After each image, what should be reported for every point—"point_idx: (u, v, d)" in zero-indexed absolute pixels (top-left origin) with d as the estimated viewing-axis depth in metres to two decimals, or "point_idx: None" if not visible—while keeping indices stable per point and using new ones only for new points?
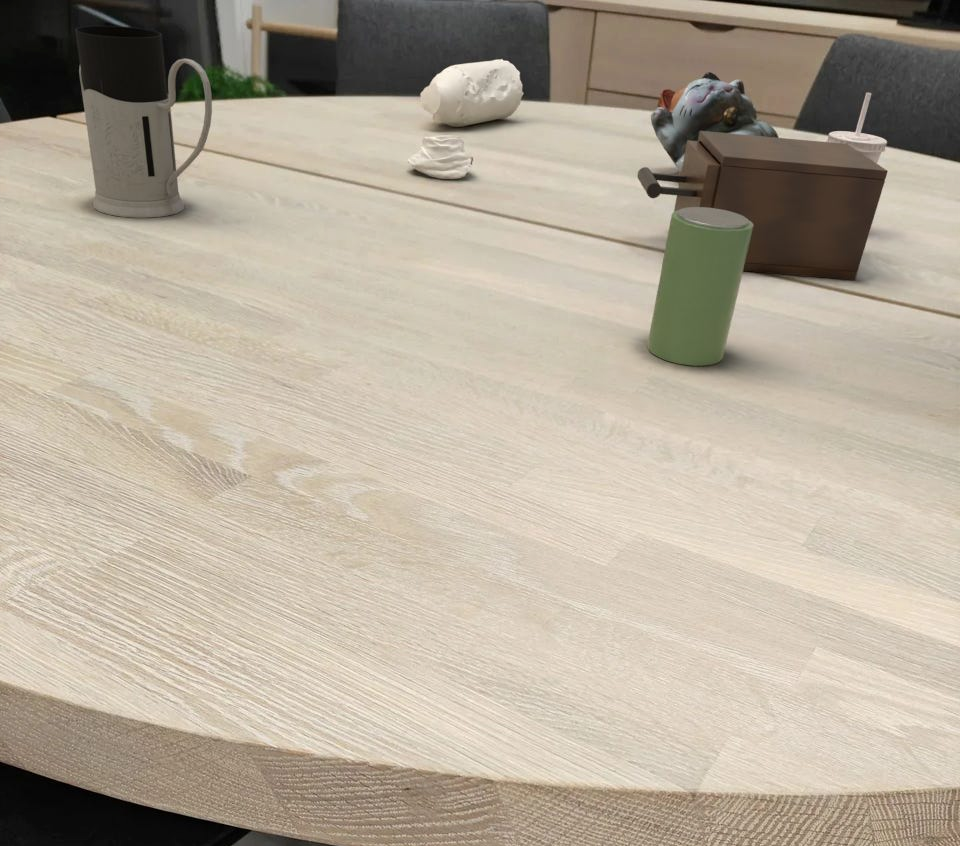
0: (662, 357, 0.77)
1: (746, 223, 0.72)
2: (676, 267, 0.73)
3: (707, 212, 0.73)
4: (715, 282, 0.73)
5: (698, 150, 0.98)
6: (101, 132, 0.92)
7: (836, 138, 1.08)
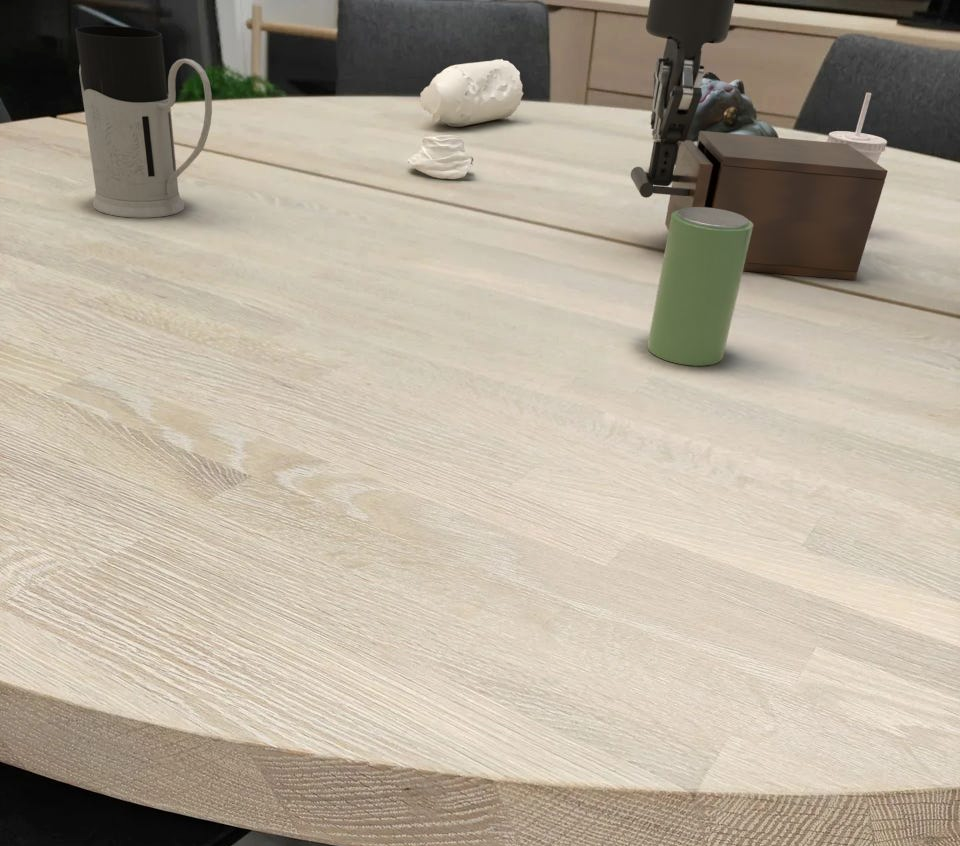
0: (662, 357, 0.77)
1: (746, 223, 0.72)
2: (676, 267, 0.73)
3: (707, 212, 0.73)
4: (715, 282, 0.73)
5: (691, 149, 0.98)
6: (101, 132, 0.92)
7: (836, 138, 1.08)
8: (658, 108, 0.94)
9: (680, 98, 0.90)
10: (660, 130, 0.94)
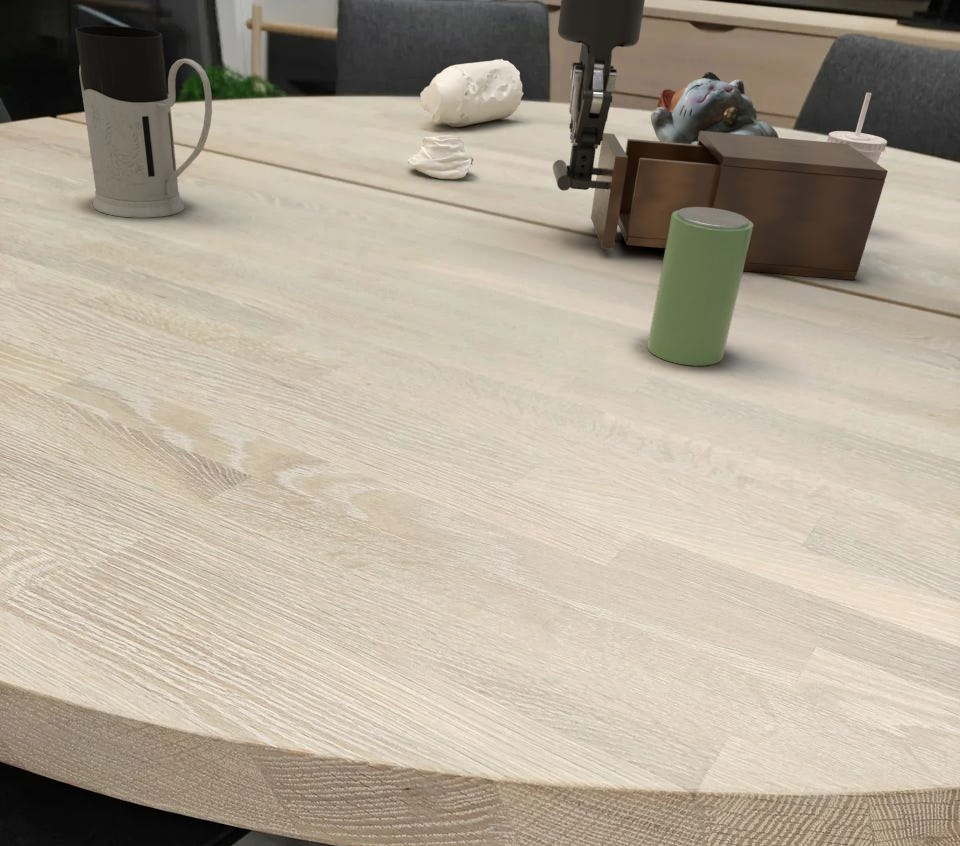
0: (662, 357, 0.77)
1: (746, 223, 0.72)
2: (676, 267, 0.73)
3: (707, 212, 0.73)
4: (715, 282, 0.73)
5: (610, 142, 0.98)
6: (101, 132, 0.92)
7: (836, 138, 1.08)
8: (573, 112, 0.94)
9: (591, 102, 0.90)
10: (575, 134, 0.94)
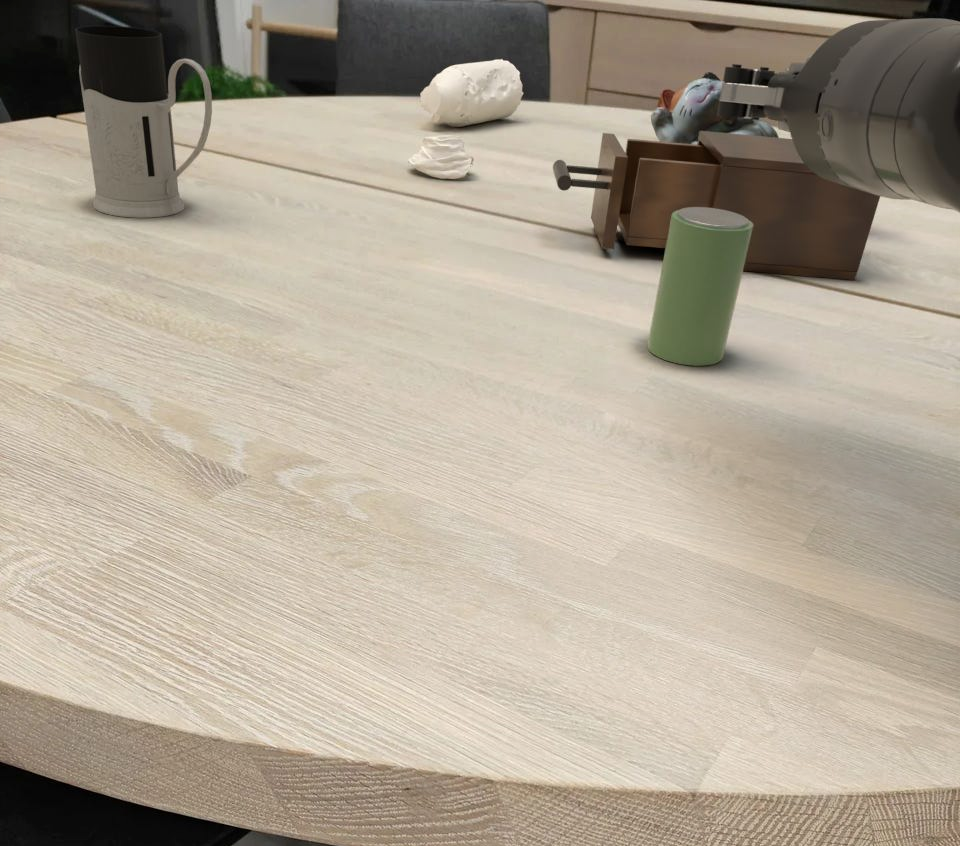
0: (662, 357, 0.77)
1: (746, 223, 0.72)
2: (676, 267, 0.73)
3: (707, 212, 0.73)
4: (715, 282, 0.73)
5: (610, 142, 0.98)
6: (101, 132, 0.92)
7: None
8: None
9: None
10: None
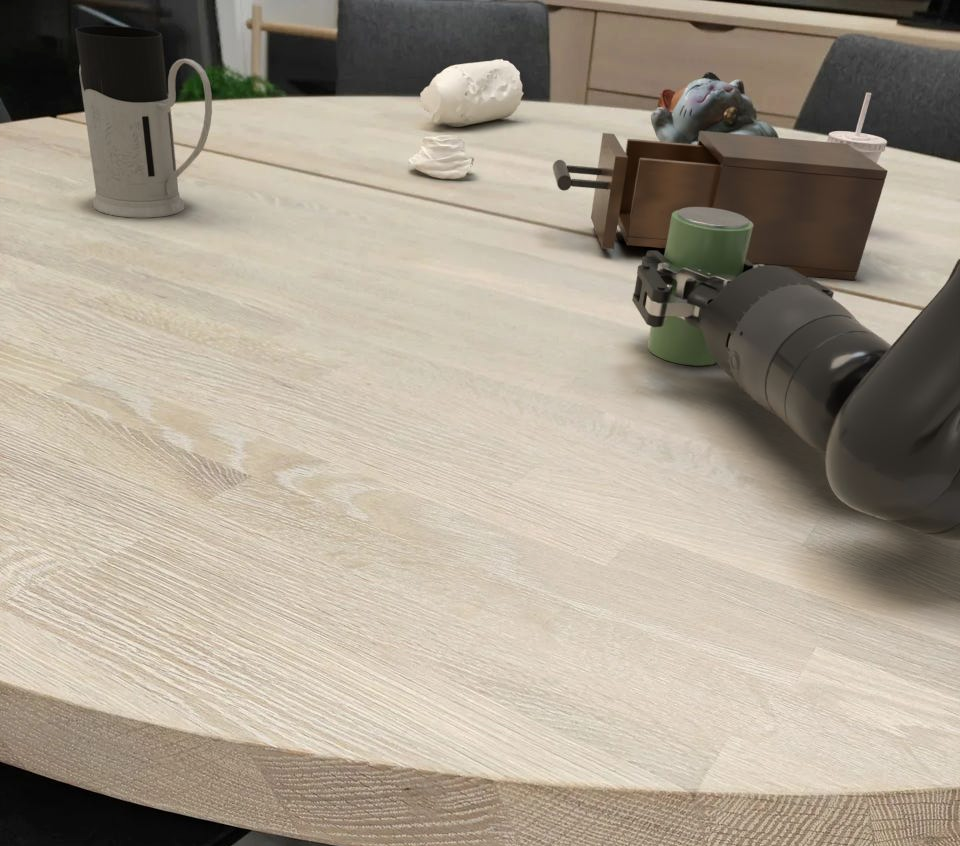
0: (662, 357, 0.77)
1: (746, 223, 0.72)
2: None
3: (707, 212, 0.74)
4: None
5: (610, 142, 0.98)
6: (101, 132, 0.92)
7: (836, 138, 1.08)
8: None
9: None
10: None
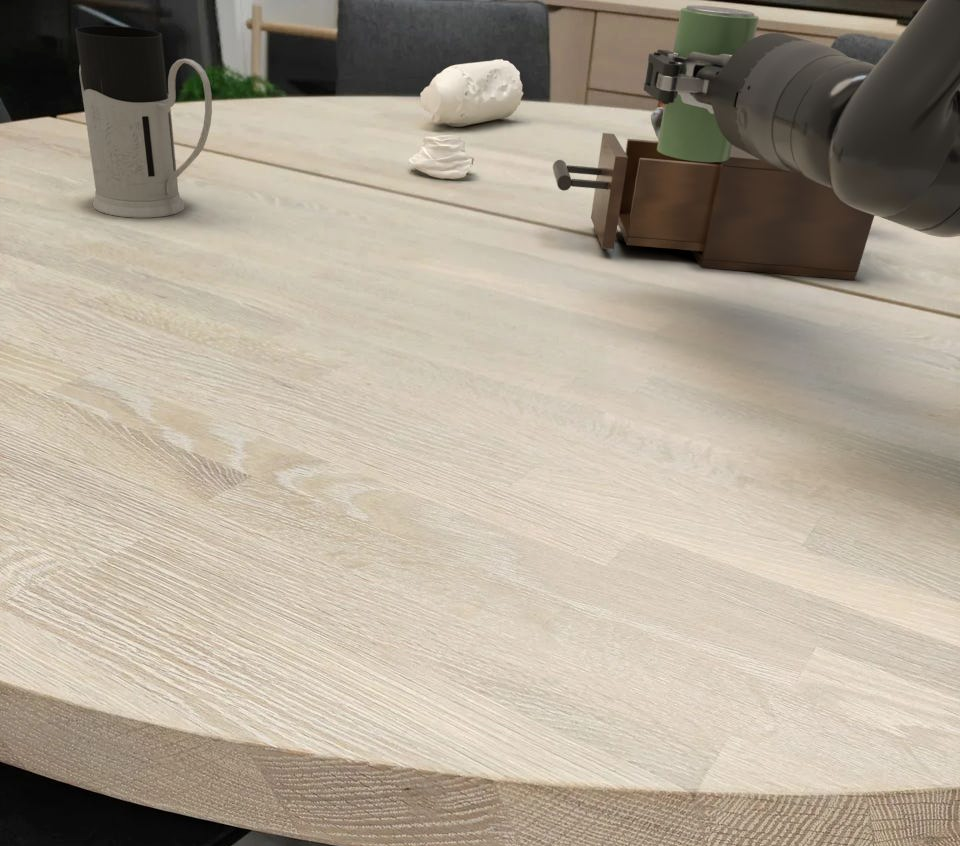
0: (671, 155, 0.81)
1: (752, 14, 0.76)
2: None
3: (714, 8, 0.77)
4: None
5: (610, 142, 0.98)
6: (101, 132, 0.92)
7: None
8: None
9: None
10: None
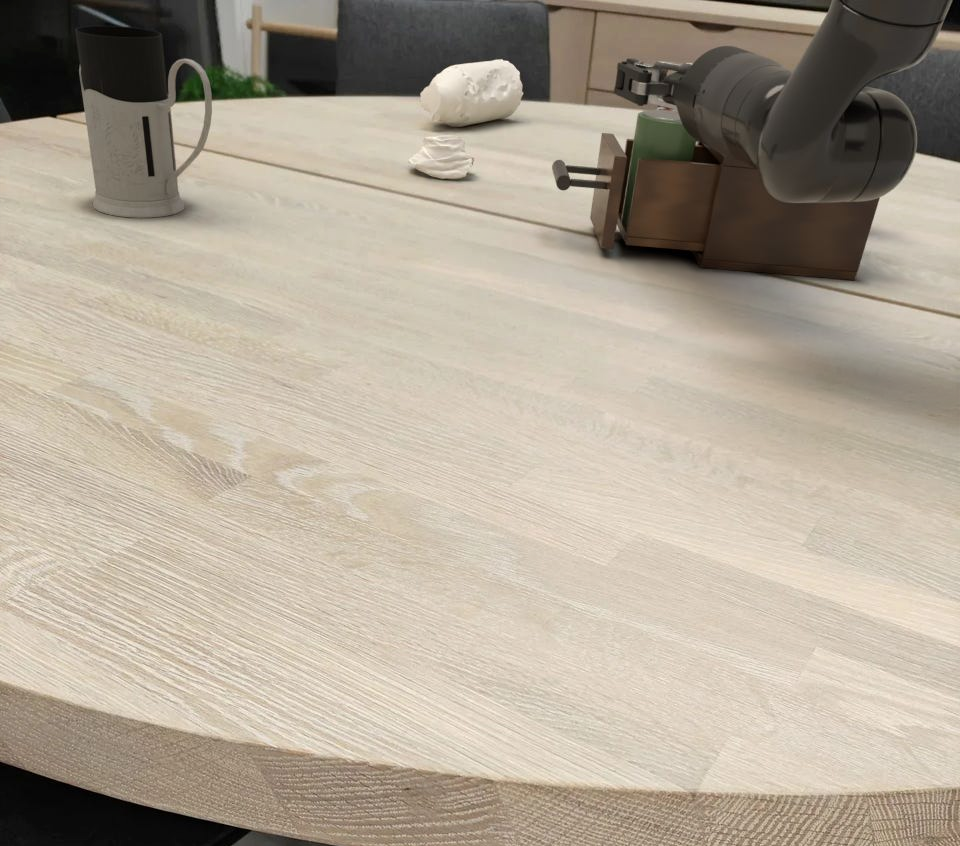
0: None
1: None
2: (641, 154, 0.96)
3: (665, 112, 0.96)
4: None
5: (609, 142, 0.98)
6: (101, 132, 0.92)
7: None
8: None
9: None
10: None
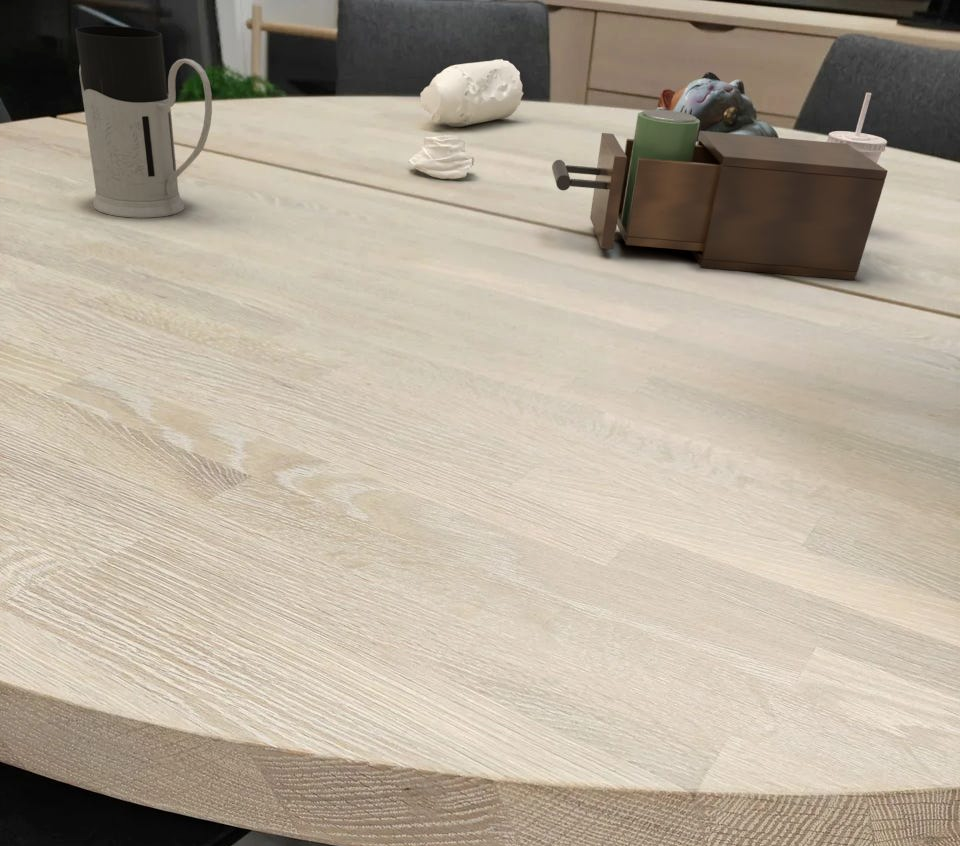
0: None
1: (694, 119, 0.95)
2: (641, 154, 0.96)
3: (665, 112, 0.96)
4: None
5: (609, 142, 0.98)
6: (101, 132, 0.92)
7: (836, 138, 1.08)
8: None
9: None
10: None
